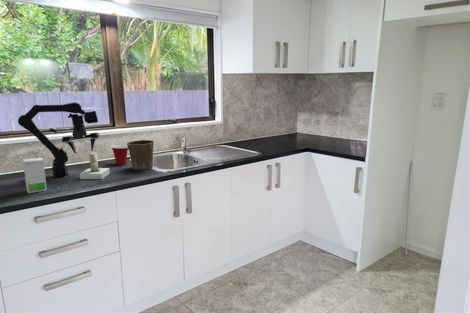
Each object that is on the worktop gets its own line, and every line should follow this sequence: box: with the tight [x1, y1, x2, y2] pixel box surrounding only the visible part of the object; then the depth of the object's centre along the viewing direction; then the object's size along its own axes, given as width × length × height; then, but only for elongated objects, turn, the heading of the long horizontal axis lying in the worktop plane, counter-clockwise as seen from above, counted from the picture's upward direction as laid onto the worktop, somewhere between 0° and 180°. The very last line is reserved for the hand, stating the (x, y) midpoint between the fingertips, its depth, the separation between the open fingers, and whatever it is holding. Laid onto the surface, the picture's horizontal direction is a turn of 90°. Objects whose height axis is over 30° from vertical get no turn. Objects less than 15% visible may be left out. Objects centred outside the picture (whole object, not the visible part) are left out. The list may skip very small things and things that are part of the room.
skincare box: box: [22, 157, 48, 194], centre depth 159 cm, size 8×7×16 cm
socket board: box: [79, 167, 111, 180], centre depth 184 cm, size 12×12×3 cm
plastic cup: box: [111, 144, 129, 166], centre depth 210 cm, size 11×11×12 cm
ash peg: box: [88, 152, 99, 172], centre depth 183 cm, size 4×4×13 cm
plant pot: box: [126, 139, 155, 171], centre depth 200 cm, size 16×16×16 cm
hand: (83, 152), depth 187 cm, fingers open, 9 cm apart
